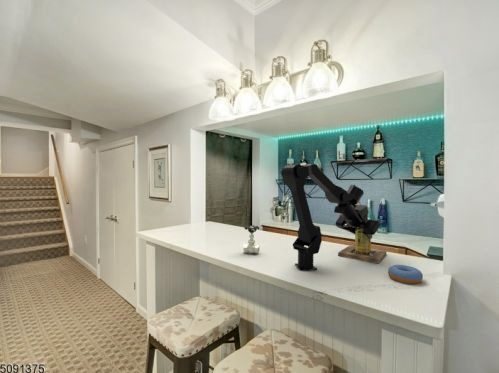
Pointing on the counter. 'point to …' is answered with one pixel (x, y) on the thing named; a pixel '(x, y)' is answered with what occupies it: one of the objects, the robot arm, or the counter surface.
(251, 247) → the valve
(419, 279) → the doughnut
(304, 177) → the robot arm
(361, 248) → the sauce bottle
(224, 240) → the counter surface
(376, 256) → the walnut board
